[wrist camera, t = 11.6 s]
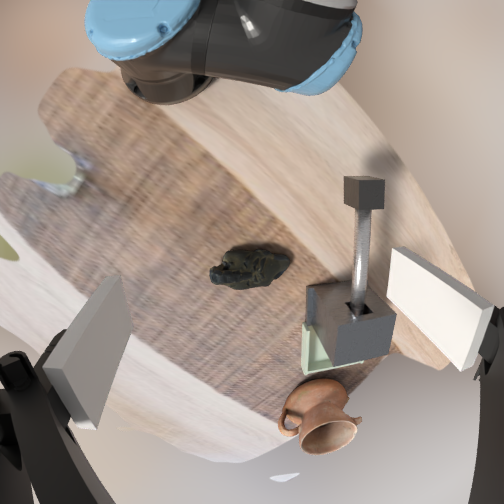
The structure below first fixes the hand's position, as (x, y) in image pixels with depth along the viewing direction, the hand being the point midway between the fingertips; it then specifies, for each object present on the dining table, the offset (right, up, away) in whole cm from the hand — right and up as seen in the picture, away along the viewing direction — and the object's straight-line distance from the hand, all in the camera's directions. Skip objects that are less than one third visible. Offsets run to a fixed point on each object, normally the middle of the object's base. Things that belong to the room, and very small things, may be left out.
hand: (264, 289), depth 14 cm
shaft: (+15, 0, +32) cm, 35 cm away
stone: (-1, 0, +37) cm, 37 cm away
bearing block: (+15, -8, +42) cm, 45 cm away
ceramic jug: (+13, -31, +50) cm, 60 cm away
